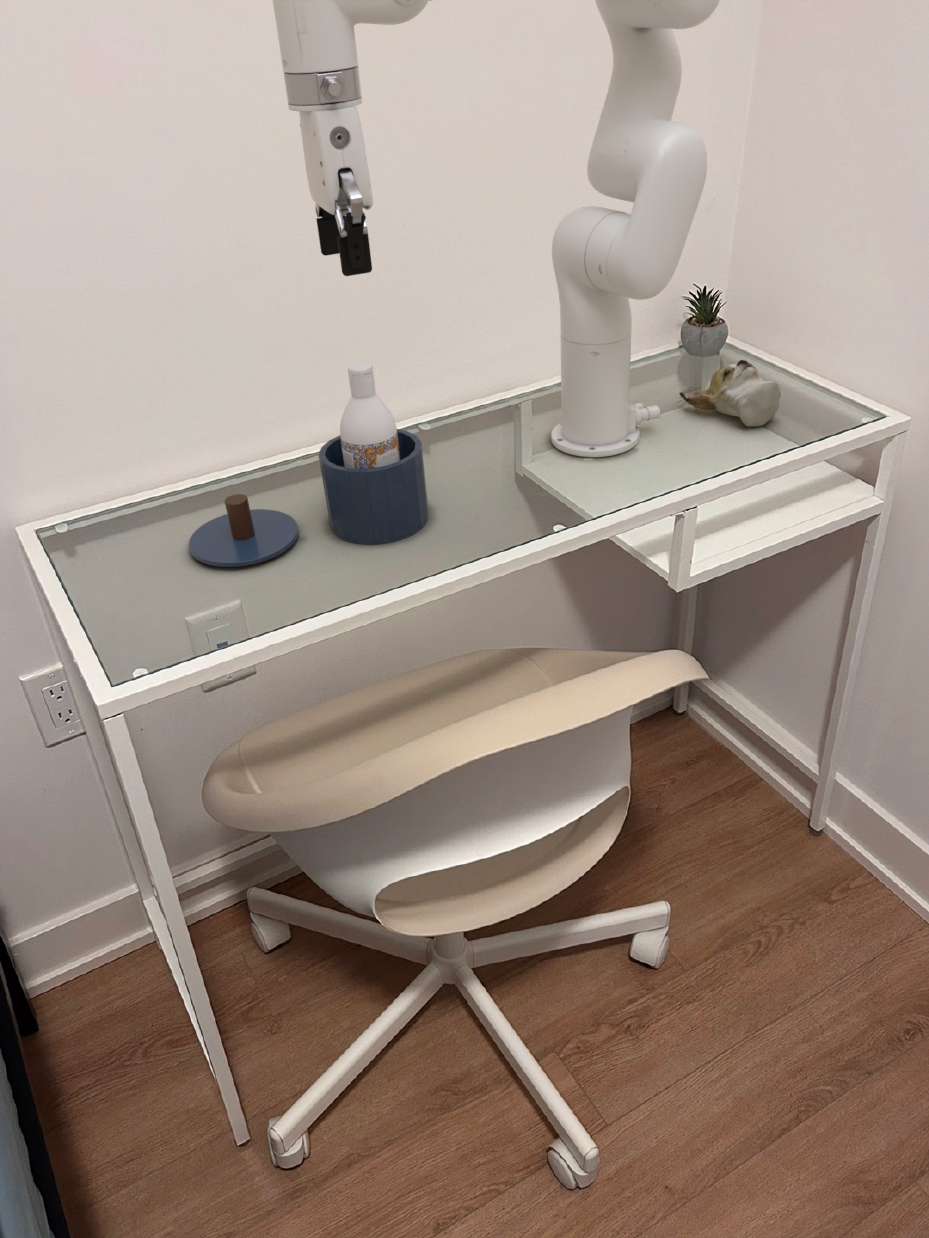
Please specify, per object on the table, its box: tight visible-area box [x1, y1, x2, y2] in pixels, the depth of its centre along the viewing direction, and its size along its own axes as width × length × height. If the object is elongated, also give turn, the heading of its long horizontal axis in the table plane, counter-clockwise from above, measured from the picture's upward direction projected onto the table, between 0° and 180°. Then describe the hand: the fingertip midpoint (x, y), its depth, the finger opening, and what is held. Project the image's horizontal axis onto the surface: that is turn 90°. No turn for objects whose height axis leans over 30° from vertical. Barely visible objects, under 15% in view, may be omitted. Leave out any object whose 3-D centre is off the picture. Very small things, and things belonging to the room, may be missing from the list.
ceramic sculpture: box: [679, 359, 782, 427], centre depth 147 cm, size 11×9×15 cm
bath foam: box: [339, 361, 400, 469], centre depth 123 cm, size 7×7×20 cm
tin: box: [318, 428, 429, 546], centre depth 126 cm, size 13×13×10 cm
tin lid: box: [188, 493, 299, 568], centre depth 125 cm, size 14×14×6 cm
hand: (346, 263), depth 111 cm, fingers open, 9 cm apart
